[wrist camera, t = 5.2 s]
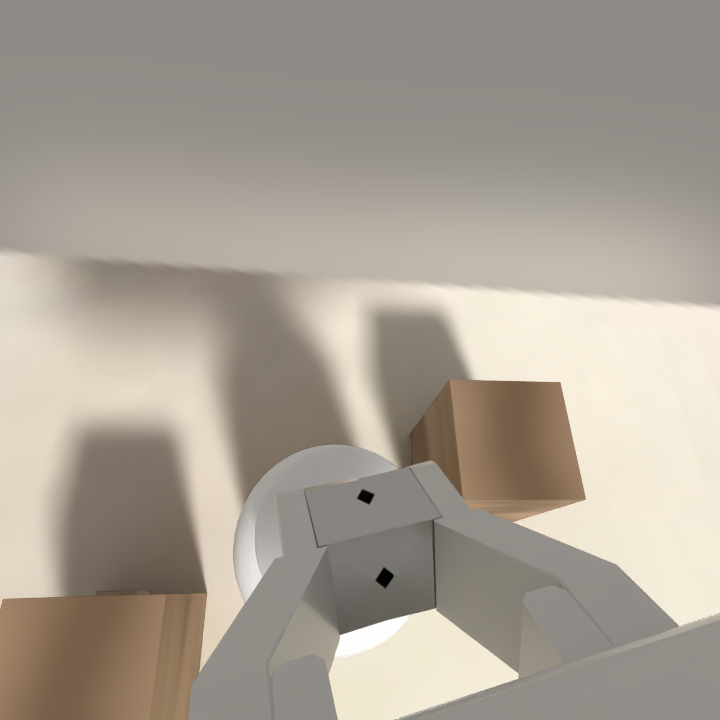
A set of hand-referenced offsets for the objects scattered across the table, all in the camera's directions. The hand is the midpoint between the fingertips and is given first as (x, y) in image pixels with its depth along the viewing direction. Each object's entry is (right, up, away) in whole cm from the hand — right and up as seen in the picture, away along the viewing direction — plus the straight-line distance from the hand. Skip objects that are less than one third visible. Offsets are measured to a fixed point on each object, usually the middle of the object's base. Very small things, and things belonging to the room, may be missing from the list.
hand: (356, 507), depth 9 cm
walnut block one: (-10, -11, +13) cm, 19 cm away
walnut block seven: (+6, -4, +18) cm, 19 cm away
